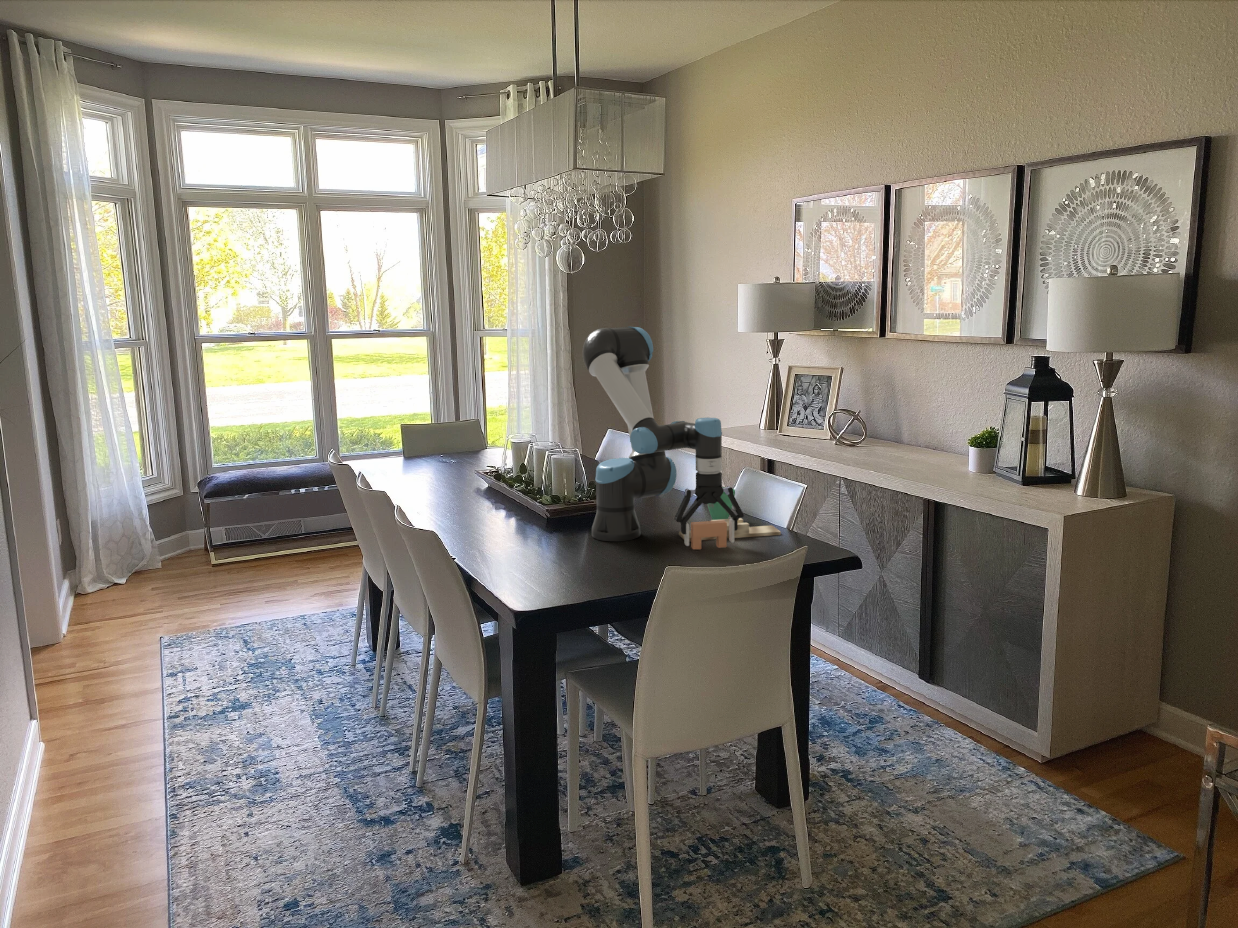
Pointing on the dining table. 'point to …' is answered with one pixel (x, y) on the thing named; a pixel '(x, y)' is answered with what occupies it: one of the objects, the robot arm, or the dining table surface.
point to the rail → (744, 530)
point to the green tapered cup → (720, 507)
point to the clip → (709, 533)
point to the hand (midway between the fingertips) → (709, 543)
